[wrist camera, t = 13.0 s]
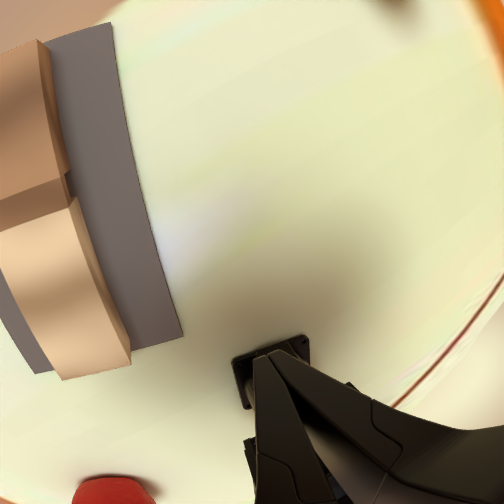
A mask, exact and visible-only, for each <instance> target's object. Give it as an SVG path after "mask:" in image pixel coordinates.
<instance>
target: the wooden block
mask: <svg viewBox="0 0 504 504" xmlns="http://www.w3.org/2000/svg"><path fill="white" fill-rule="evenodd" d="M69 170H70V164H69V160H68V156H67V152H66V147H65V143H64V138H63V134H62V129H61V124H60V118H59V113H58V107H57V102H56V95H55V89H54V82H53V75H52V67H51V58H50V49H49V48H48V47H47V46H45V45H44V44H43V43H41V42H40V41H39V40H37V39H35V40H33V41H30V42H28V43H26V44H24V45H21V46H19V47H16V48H14V49H12V50H10V51H8V52H5V53H3V54H1V55H0V232H1V231H4V230H6V229H9V228H12V227H14V226H17V225H20V224H22V223H25V222H28V221H30V220H33V219H36V218H39V217H42V216H44V215H47V214H50V213H53V212H56V211H59V210H62V209H65V208H68V207H69V206H70V205H71V204H72V202H71V198H70V195H69V191H68V188H67V184H66V180H65V176H64V174H65V173H66V172H68V171H69Z"/></svg>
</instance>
